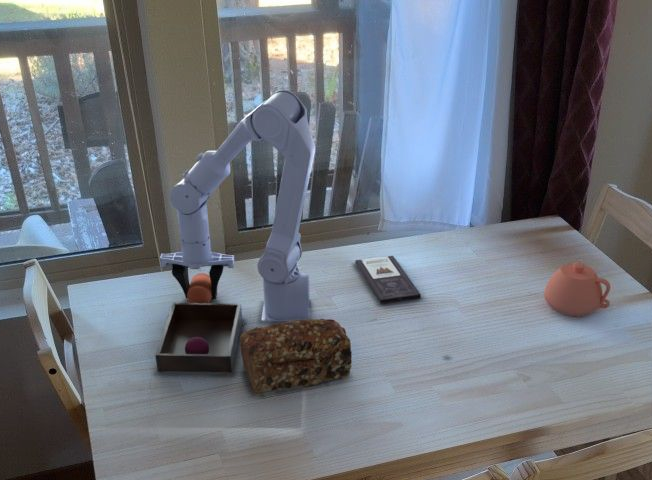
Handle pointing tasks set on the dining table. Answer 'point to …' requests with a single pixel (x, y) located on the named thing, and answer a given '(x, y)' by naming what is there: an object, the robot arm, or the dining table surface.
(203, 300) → the sweet potato
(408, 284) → the chocolate bar
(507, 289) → the dining table surface
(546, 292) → the sugar bowl
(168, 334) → the dark wooden tray
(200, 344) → the onion
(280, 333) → the bread
